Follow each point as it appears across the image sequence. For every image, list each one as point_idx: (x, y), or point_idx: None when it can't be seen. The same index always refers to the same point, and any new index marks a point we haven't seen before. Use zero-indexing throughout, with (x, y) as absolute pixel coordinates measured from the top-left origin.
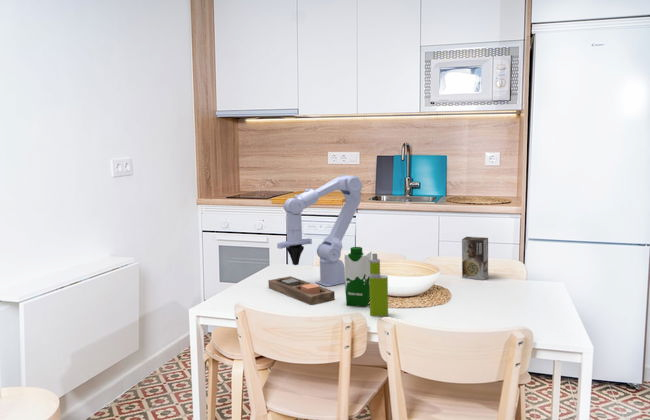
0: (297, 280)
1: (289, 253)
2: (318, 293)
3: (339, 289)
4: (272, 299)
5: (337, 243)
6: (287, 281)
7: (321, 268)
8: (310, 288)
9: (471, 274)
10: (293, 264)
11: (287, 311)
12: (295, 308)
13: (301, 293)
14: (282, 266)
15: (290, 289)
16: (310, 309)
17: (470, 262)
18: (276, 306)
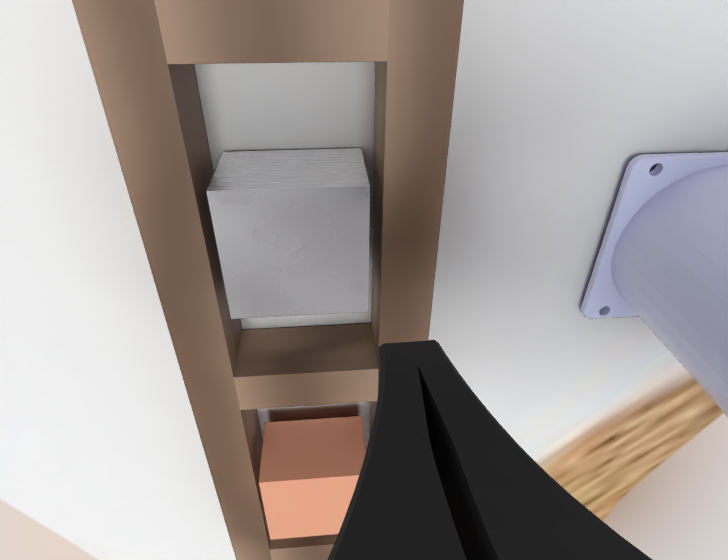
0: (366, 289)
1: (347, 524)
2: (309, 549)
3: (577, 392)
4: (49, 356)
5: None
6: (257, 265)
7: (708, 338)
8: (289, 535)
9: None
10: (378, 366)
11: (86, 540)
12: (143, 525)
13: (223, 509)
14: None
15: (196, 413)
16: (209, 554)
17: None
18: (44, 471)
